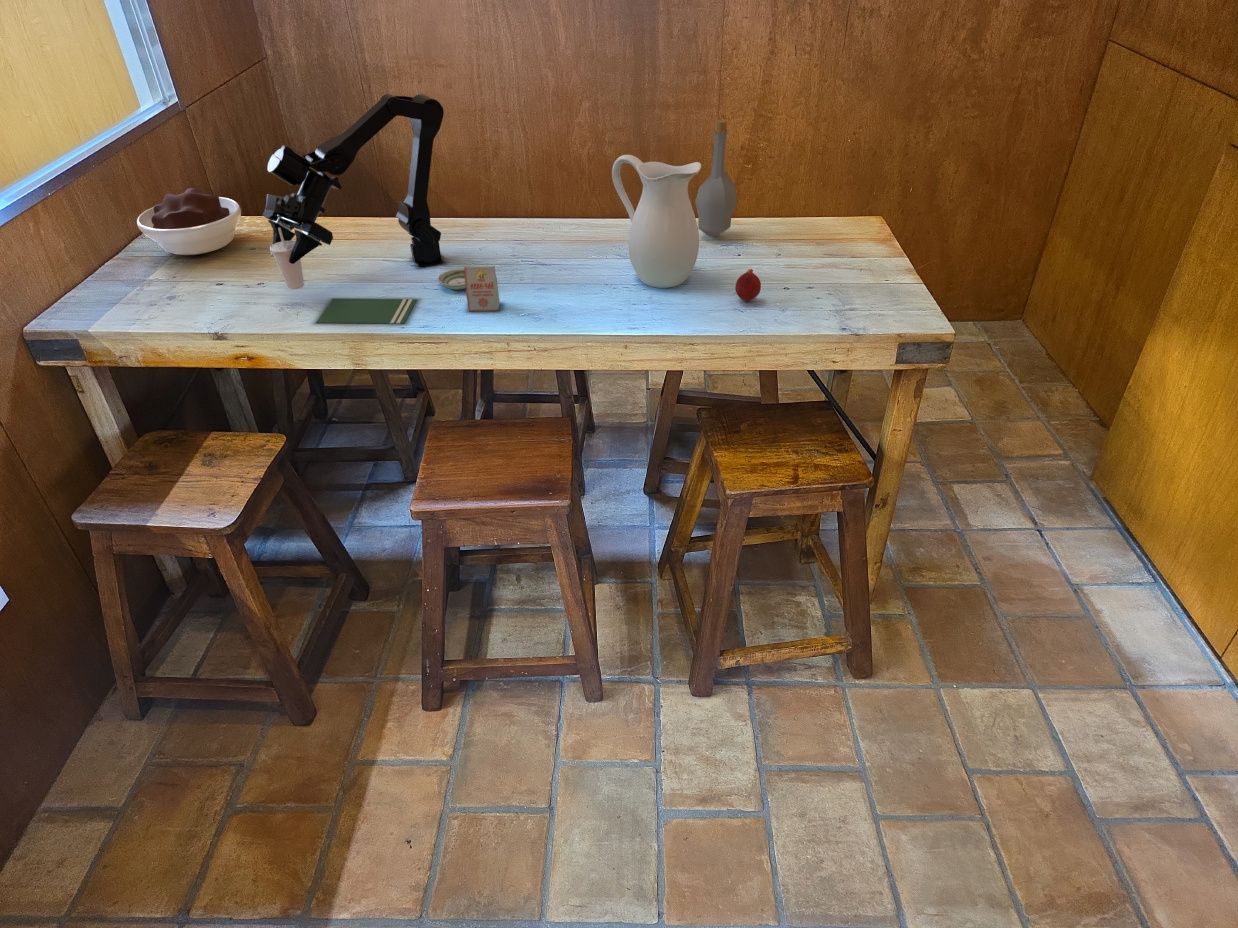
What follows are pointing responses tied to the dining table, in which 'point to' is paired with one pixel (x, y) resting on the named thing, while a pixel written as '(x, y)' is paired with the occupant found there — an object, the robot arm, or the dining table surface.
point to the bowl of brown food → (191, 222)
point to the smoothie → (287, 263)
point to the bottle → (716, 190)
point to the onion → (748, 286)
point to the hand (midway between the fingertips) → (282, 259)
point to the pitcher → (661, 222)
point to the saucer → (453, 279)
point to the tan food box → (481, 288)
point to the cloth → (367, 311)
